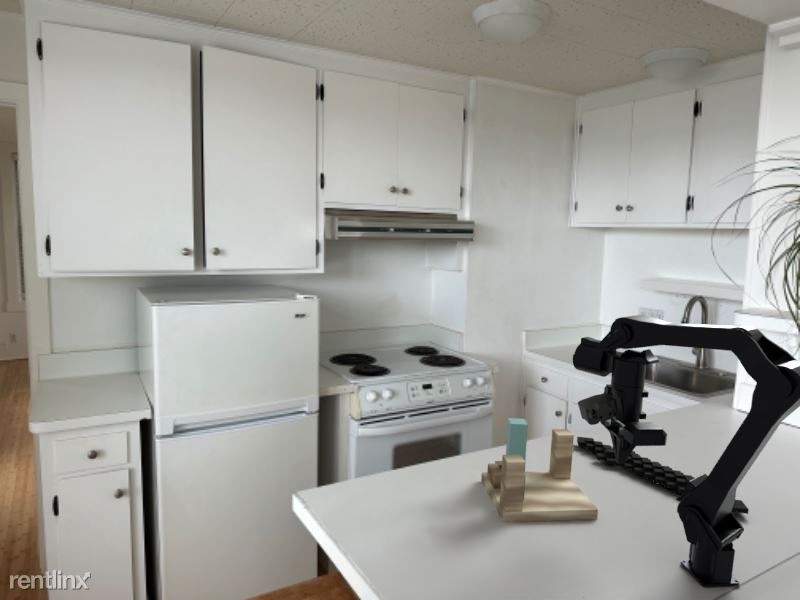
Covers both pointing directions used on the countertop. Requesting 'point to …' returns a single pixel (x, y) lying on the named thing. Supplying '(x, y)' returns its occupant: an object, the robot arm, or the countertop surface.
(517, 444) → the folding leg
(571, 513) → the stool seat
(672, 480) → the black segmented strip
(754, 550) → the countertop surface
